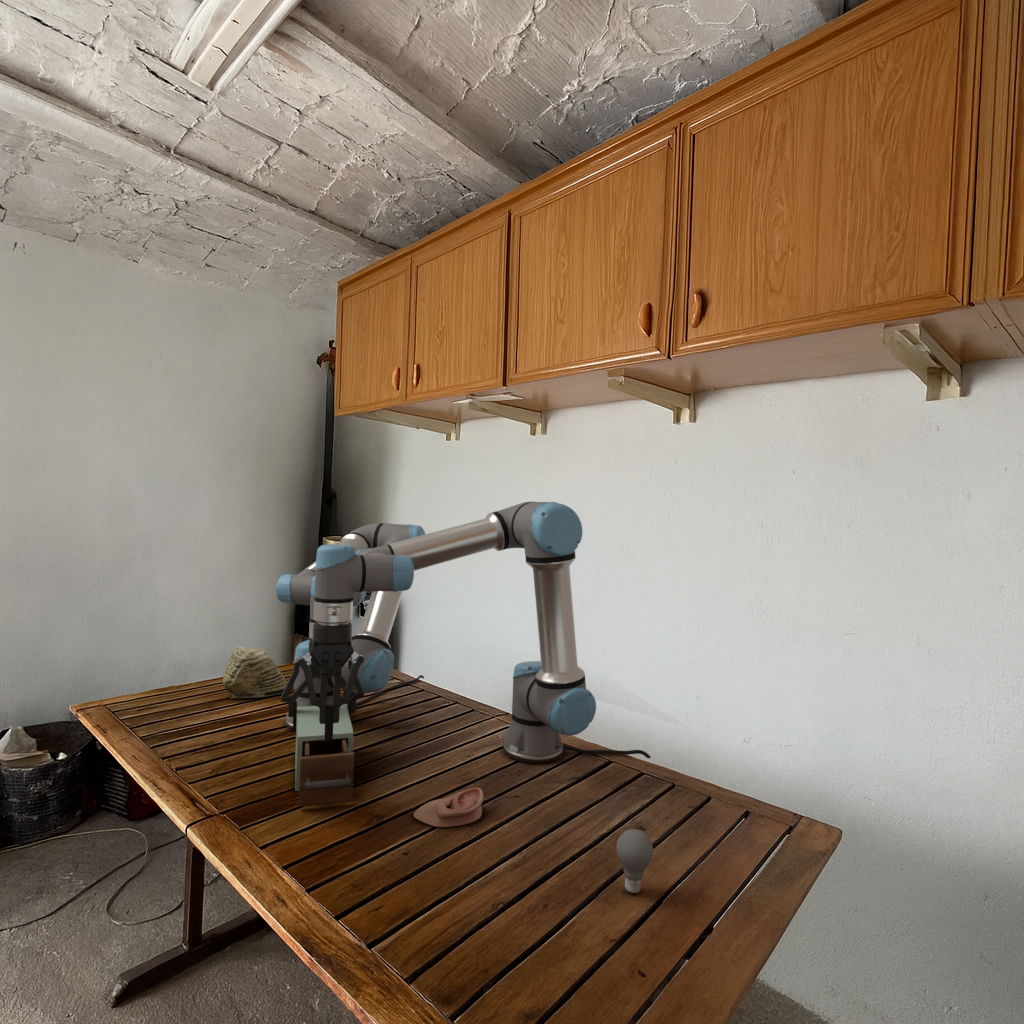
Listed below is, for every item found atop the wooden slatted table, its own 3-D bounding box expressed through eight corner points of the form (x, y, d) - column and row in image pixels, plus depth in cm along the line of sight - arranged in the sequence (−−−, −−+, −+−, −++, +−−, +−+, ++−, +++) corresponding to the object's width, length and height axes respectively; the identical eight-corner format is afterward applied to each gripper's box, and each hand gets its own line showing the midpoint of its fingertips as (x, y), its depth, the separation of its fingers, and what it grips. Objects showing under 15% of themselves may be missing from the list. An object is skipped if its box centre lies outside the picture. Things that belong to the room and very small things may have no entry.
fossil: (218, 695, 195) (220, 647, 195) (278, 685, 208) (279, 640, 207) (228, 703, 189) (230, 653, 188) (289, 692, 201) (290, 645, 201)
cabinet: (351, 785, 139) (353, 732, 139) (295, 791, 136) (297, 736, 135) (344, 750, 158) (346, 703, 158) (295, 754, 154) (297, 706, 154)
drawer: (354, 813, 126) (356, 764, 125) (299, 819, 122) (300, 769, 122) (345, 764, 148) (347, 723, 148) (298, 768, 145) (299, 726, 144)
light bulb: (610, 879, 108) (613, 822, 108) (644, 879, 109) (647, 822, 109) (619, 902, 102) (622, 840, 102) (655, 901, 103) (658, 840, 103)
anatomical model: (408, 802, 124) (427, 778, 135) (407, 822, 124) (427, 796, 136) (473, 812, 122) (488, 786, 133) (473, 832, 122) (487, 805, 133)
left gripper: (271, 644, 145) (267, 737, 146) (377, 640, 153) (374, 729, 153) (272, 637, 152) (269, 726, 153) (374, 634, 160) (370, 719, 161)
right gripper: (298, 626, 121) (294, 748, 121) (368, 624, 125) (363, 743, 126) (298, 618, 128) (294, 734, 128) (364, 617, 132) (359, 729, 133)
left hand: (321, 728), depth 153 cm, fingers open, 12 cm apart
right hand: (328, 738), depth 127 cm, fingers closed
